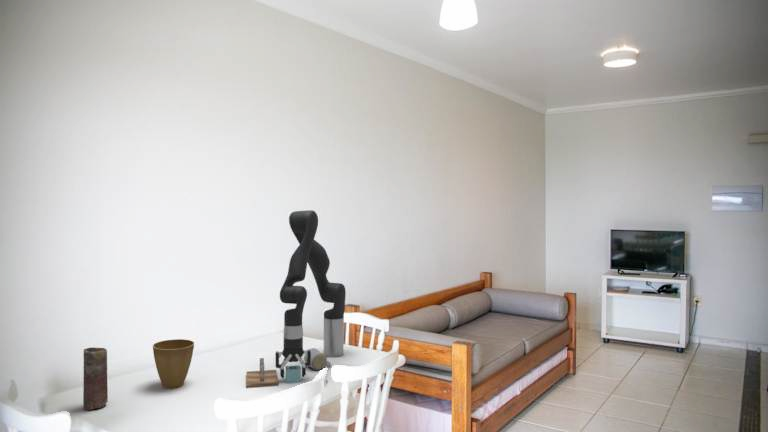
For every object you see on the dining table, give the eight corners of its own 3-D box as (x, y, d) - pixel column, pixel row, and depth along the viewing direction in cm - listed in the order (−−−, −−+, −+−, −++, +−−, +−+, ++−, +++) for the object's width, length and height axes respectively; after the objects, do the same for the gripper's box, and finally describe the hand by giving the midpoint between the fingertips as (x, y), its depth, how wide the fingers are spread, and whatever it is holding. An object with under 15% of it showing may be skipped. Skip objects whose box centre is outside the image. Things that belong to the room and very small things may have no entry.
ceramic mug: (312, 372, 224) (312, 353, 224) (303, 367, 231) (304, 349, 231) (334, 368, 230) (335, 350, 230) (325, 363, 237) (325, 346, 237)
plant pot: (154, 394, 197) (154, 351, 197) (151, 382, 210) (151, 341, 210) (197, 388, 204) (197, 346, 203) (191, 376, 217) (191, 337, 217)
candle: (89, 402, 189) (89, 345, 188) (111, 402, 189) (111, 345, 189) (79, 411, 181) (78, 352, 180) (102, 410, 182) (101, 351, 181)
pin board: (246, 374, 220) (246, 357, 220) (276, 372, 223) (276, 355, 223) (246, 387, 205) (246, 369, 205) (278, 385, 208) (278, 366, 208)
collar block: (285, 378, 216) (285, 366, 216) (299, 377, 217) (299, 365, 217) (286, 382, 211) (286, 370, 211) (300, 381, 212) (300, 369, 212)
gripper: (310, 332, 219) (310, 373, 219) (274, 334, 215) (274, 375, 216) (312, 337, 212) (312, 379, 212) (275, 339, 208) (275, 381, 209)
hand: (292, 377), depth 214 cm, fingers open, 7 cm apart
